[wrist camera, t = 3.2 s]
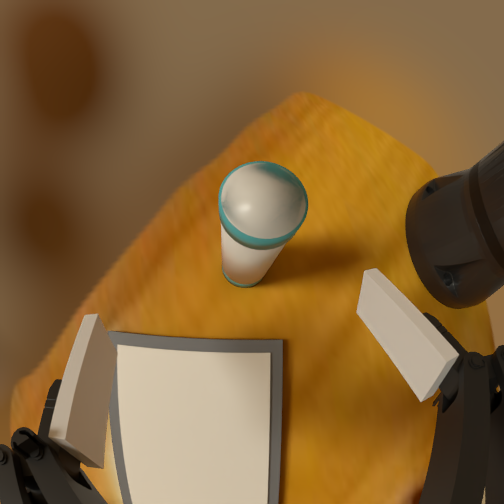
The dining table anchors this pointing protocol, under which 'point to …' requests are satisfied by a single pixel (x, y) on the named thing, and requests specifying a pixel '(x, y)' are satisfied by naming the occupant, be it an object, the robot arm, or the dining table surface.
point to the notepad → (196, 419)
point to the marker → (258, 218)
